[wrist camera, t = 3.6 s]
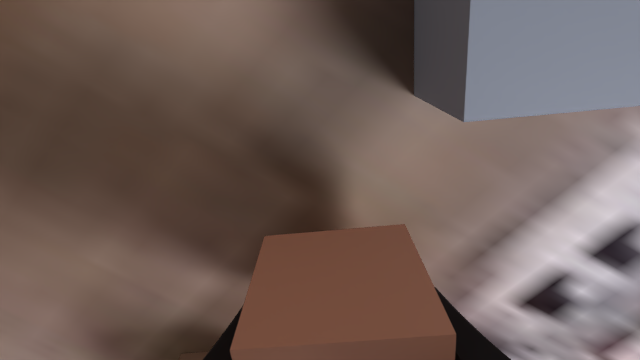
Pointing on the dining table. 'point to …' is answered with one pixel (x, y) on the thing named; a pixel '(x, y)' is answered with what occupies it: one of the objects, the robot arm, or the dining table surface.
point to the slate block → (526, 56)
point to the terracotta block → (342, 300)
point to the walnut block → (193, 356)
